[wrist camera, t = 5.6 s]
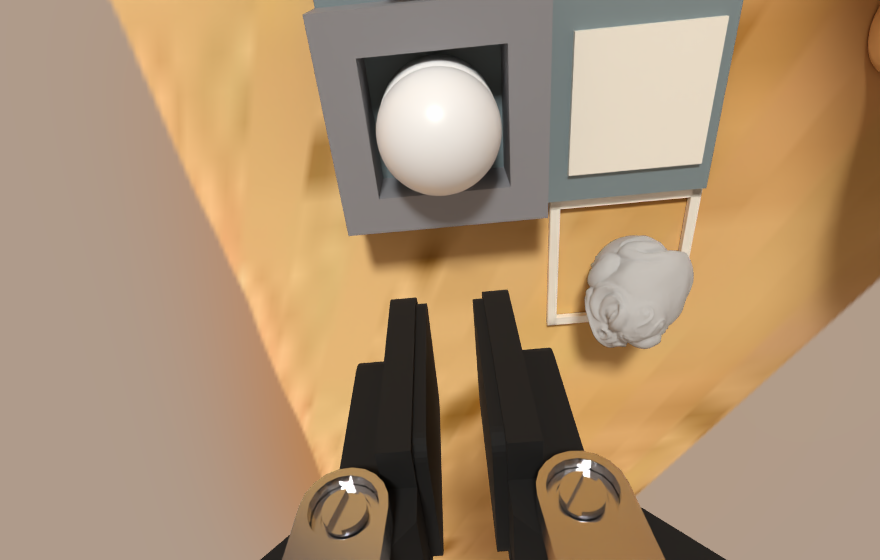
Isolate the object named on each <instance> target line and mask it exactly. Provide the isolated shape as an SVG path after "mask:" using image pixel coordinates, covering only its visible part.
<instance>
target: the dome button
mask: <svg viewBox="0 0 880 560" xmlns="http://www.w3.org/2000/svg"><path fill="white" fill-rule="evenodd" d="M501 138H502V124H501V117H500V113H499V109H498V107H497V104H496V101H495V99H494V97H493V95H492V93H491V90H490V88H489V86H488V84H487V83H486V81H485V79H484V78H483V77H482V75H481V74H480V73H479V72H478V71H477V70H476V69H475V68H474V67H472V66H471V65H470V64H468V63H467V62H465V61H463V60H461V59H458V58H456V57H452V56H448V55H428V56H423V57H420V58H417V59H415V60H413V61H411V62H409V63H407V64H406V65H404V66H403V67H402V68H401V69H400V70H399V71H397V73H396V74H395V75H394V76H393V77H392V79H391V80H390V82H389V83H388V85H387V87H386V89H385V92H384V95H383V98H382V102H381V105H380V108H379V112H378V116H377V121H376V139H377V145H378V149H379V152H380V155H381V157H382V159H383V161H384V163H385V165H386V167H387V168H388V170H389V171H390V172H391V173H392V175H393V176H394V177H395V178H396V179H397V180H399V181H400V182H401V183H402V184H404V185H405V186H407V187H408V188H410V189H412V190H414V191H416V192H419V193H422V194H426V195H432V196H446V195H452V194H456V193H459V192H462V191H464V190H466V189H468V188H470V187H471V186H473V185H474V184H476V183H477V182H478V181H479V180H480V179H481V178H482V177H484V176H485V174H486V173H487V172H488V171H489V169H490V168H491V166H492V165H493V163H494V161H495V159H496V157H497V154H498V151H499V148H500V144H501Z"/></svg>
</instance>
